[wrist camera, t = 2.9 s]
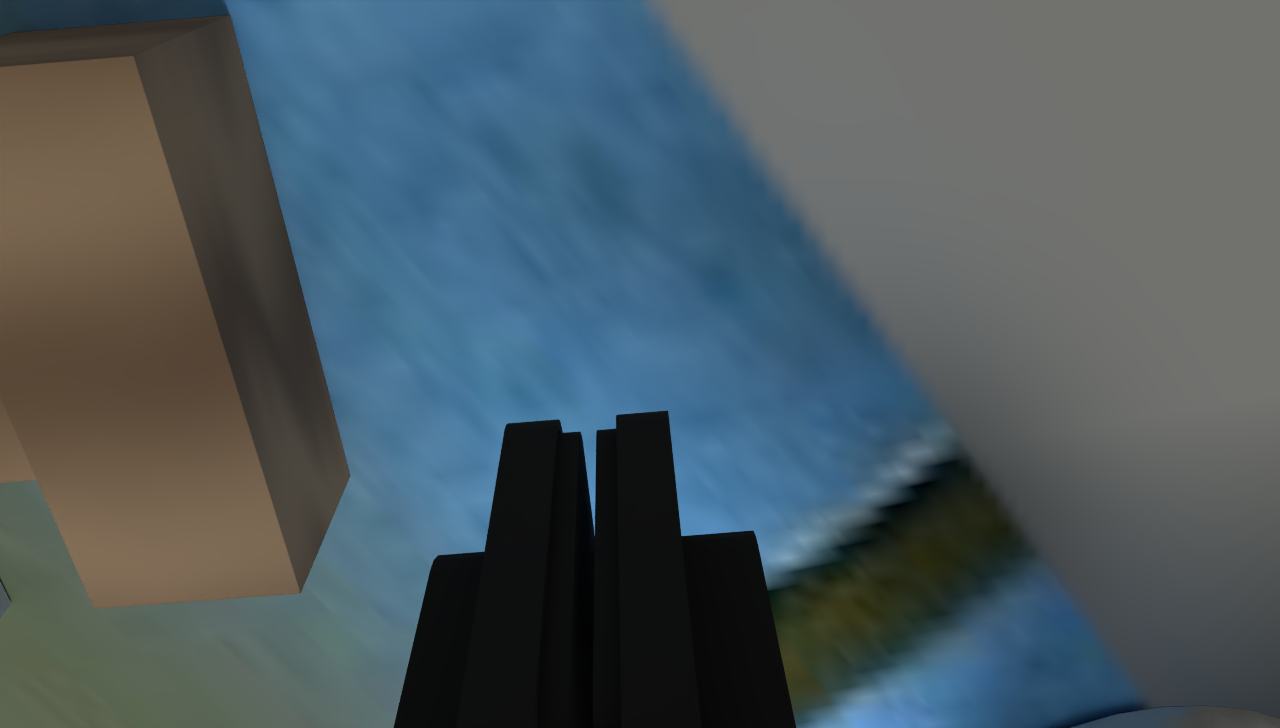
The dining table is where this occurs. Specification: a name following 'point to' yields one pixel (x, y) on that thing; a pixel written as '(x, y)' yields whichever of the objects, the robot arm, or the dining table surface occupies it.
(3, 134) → the t block
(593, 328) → the dining table surface
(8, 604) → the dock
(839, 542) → the dining table surface
